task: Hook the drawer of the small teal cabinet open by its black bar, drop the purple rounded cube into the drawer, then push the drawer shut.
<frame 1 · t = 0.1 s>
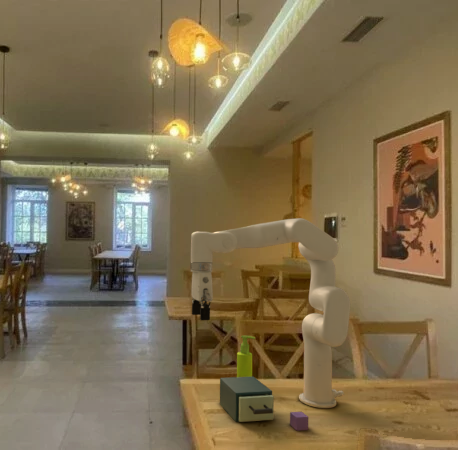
hand: (200, 317, 142), 31 cm above the table, tool pointing down, fingers open, 9 cm apart
soap dispenser: (245, 387, 164), on the table
drawer: (251, 403, 135), point 5 cm above the table, slide at 1.0 cm
small teal cabinet: (244, 411, 140), on the table
purple rounded cube: (299, 427, 129), on the table
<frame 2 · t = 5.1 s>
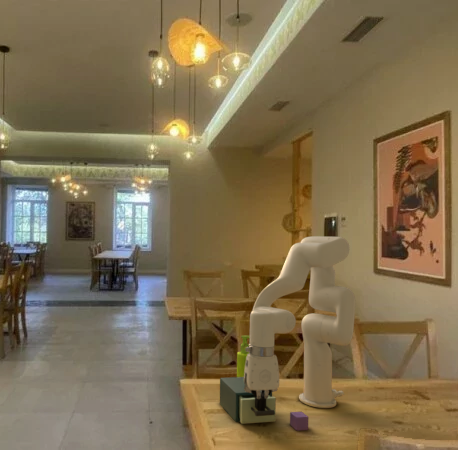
hand: (260, 410, 128), 5 cm above the table, tool pointing down, fingers closed
drawer: (252, 405, 134), point 5 cm above the table, slide at 2.3 cm
everything else where it was.
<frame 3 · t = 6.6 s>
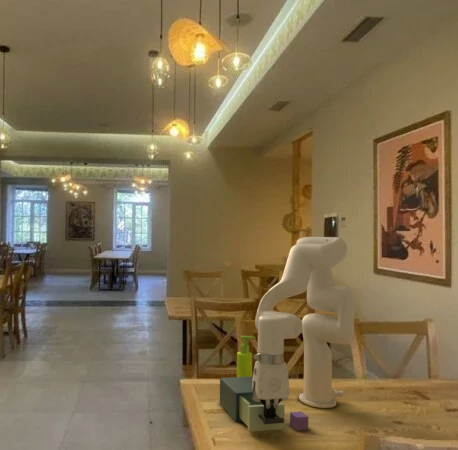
hand: (269, 420, 123), 5 cm above the table, tool pointing down, fingers closed
drawer: (260, 412, 129), point 5 cm above the table, slide at 7.8 cm
everything else where it was.
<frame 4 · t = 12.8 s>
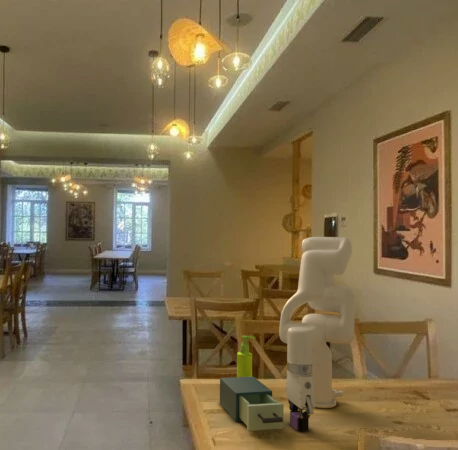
hand: (299, 426, 129), 0 cm above the table, tool pointing down, fingers closed on purple rounded cube, 4 cm apart
drawer: (259, 411, 129), point 5 cm above the table, slide at 7.3 cm
purple rounded cube: (299, 427, 129), on the table, touching gripper
everything else where it was.
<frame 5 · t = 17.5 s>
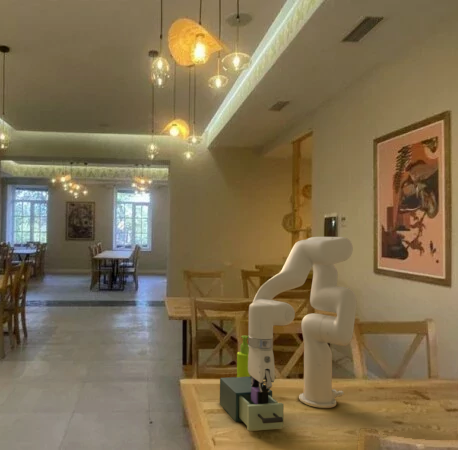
hand: (259, 401, 129), 8 cm above the table, tool pointing down, fingers closed on purple rounded cube, 4 cm apart
drawer: (259, 411, 129), point 5 cm above the table, slide at 7.3 cm, touching gripper
purple rounded cube: (259, 402, 129), point 7 cm above the table, touching gripper
everything else where it was.
when the fingers open (7 cm above the table, at t = 23.0 s): purple rounded cube drops 1 cm, point 6 cm above the table.
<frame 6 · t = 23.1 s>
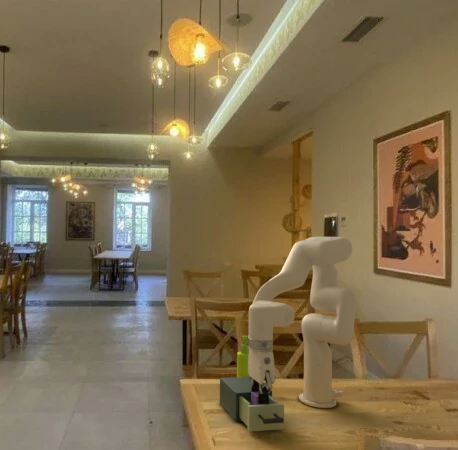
hand: (259, 402, 129), 7 cm above the table, tool pointing down, fingers open, 4 cm apart
drawer: (260, 411, 129), point 5 cm above the table, slide at 7.6 cm, touching gripper
purple rounded cube: (259, 406, 129), point 6 cm above the table
everything else where it was.
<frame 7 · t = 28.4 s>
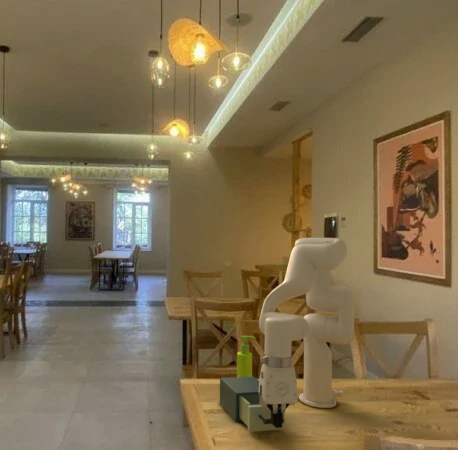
hand: (276, 425, 118), 5 cm above the table, tool pointing down, fingers closed
drawer: (260, 412, 129), point 5 cm above the table, slide at 7.8 cm, touching gripper, purple rounded cube
purple rounded cube: (259, 419, 129), point 2 cm above the table, touching drawer
everything else where it was.
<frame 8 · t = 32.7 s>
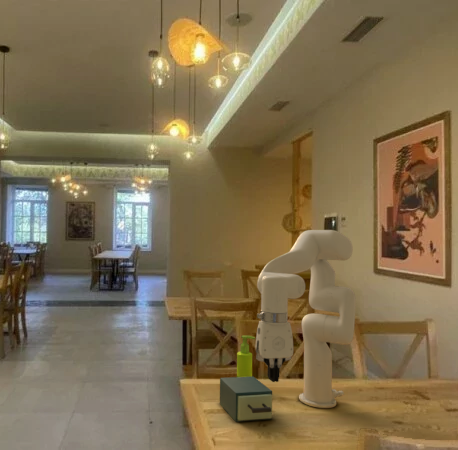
hand: (273, 380, 121), 17 cm above the table, tool pointing down, fingers closed
drawer: (249, 402, 136), point 5 cm above the table, slide at 0.0 cm, touching small teal cabinet, purple rounded cube
purple rounded cube: (248, 409, 137), point 2 cm above the table, touching drawer
everything else where it was.
at the end: drawer pulled out 9.0 cm at the most during the clip and back in by the end; purple rounded cube inside the target area in the small teal cabinet (2.8 cm from its centre), point 2.0 cm above the small teal cabinet's base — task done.
